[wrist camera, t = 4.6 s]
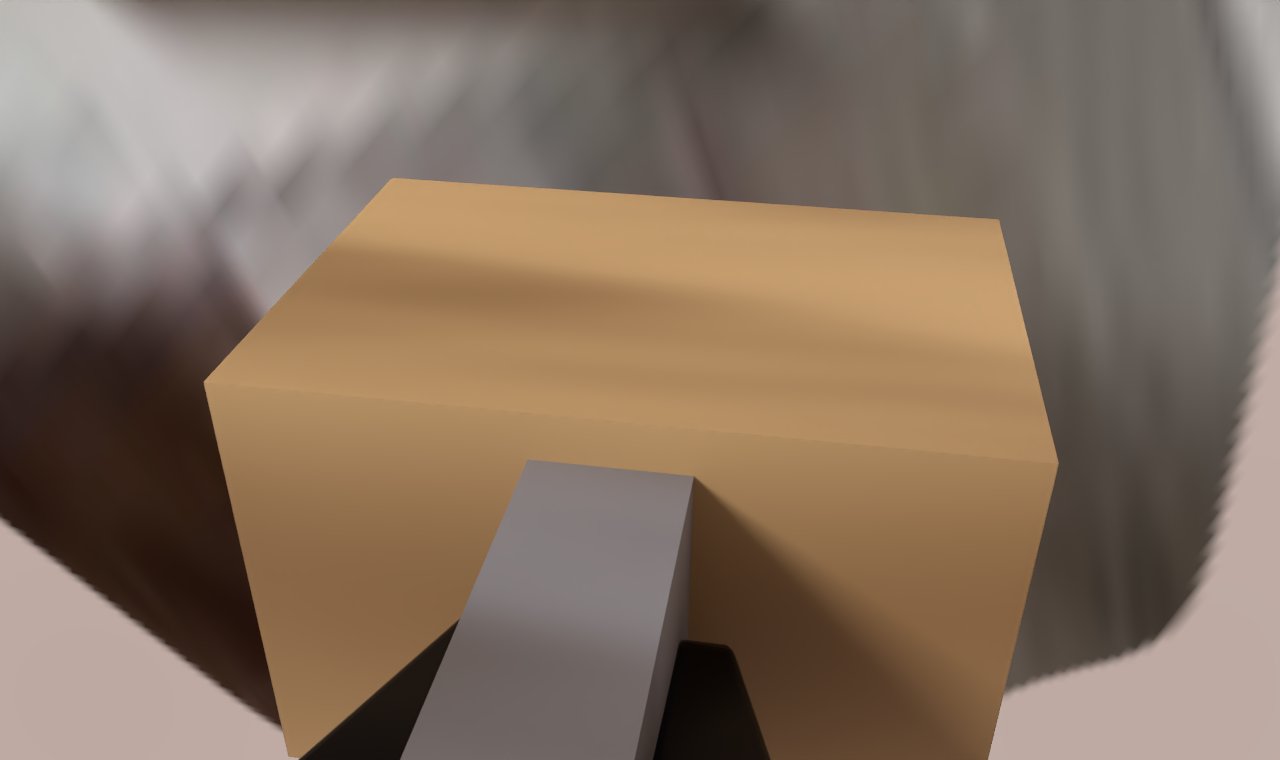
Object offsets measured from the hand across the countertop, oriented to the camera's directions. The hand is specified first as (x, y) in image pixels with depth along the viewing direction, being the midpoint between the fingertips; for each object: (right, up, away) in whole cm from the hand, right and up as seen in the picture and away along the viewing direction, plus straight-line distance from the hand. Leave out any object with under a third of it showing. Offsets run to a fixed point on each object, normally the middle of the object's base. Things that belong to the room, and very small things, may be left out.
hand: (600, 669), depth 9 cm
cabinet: (+1, +2, +4) cm, 4 cm away
